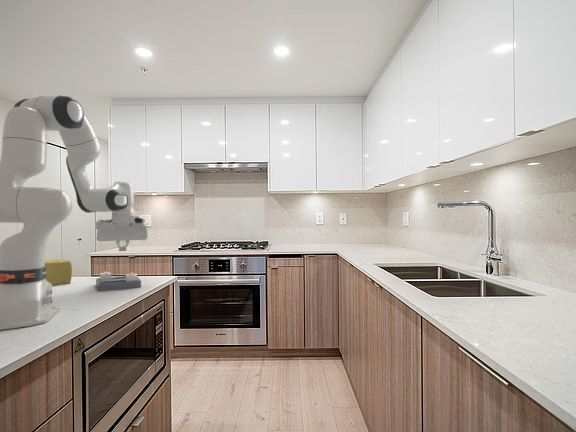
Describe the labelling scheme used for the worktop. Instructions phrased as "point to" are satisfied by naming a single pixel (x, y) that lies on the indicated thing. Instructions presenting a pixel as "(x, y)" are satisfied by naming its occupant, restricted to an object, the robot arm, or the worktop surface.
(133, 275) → the tab near
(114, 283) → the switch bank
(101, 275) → the tab far
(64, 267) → the cheese
